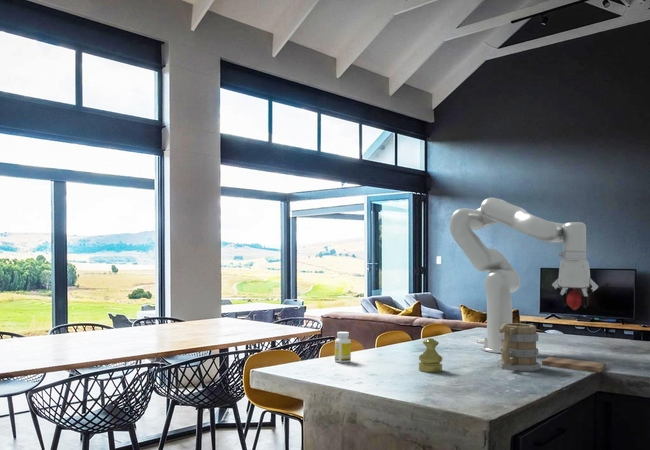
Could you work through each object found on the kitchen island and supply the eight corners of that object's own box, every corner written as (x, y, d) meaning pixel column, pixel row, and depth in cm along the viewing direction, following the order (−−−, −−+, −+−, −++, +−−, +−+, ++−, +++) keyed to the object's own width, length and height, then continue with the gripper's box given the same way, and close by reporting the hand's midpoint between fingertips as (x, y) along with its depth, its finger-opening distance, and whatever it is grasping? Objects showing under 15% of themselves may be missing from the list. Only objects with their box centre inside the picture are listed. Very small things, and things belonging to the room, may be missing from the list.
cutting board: (541, 365, 188) (541, 360, 188) (549, 361, 196) (549, 356, 196) (600, 372, 177) (600, 367, 177) (605, 367, 185) (605, 363, 185)
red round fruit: (585, 311, 195) (585, 288, 196) (567, 310, 196) (568, 287, 197) (581, 309, 201) (581, 287, 201) (564, 309, 202) (564, 287, 202)
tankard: (509, 362, 192) (509, 318, 193) (545, 367, 183) (545, 322, 184) (480, 369, 178) (480, 322, 179) (517, 376, 169) (517, 326, 170)
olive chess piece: (428, 373, 170) (428, 340, 171) (413, 369, 177) (414, 337, 177) (447, 371, 173) (447, 339, 174) (432, 367, 180) (432, 336, 181)
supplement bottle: (352, 361, 188) (353, 332, 189) (346, 363, 183) (347, 333, 184) (338, 359, 191) (338, 330, 191) (331, 362, 186) (332, 332, 186)
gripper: (546, 255, 202) (546, 305, 201) (598, 256, 192) (598, 309, 191) (552, 256, 208) (552, 304, 207) (602, 257, 198) (603, 308, 197)
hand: (574, 306), depth 199 cm, fingers closed on red round fruit, 5 cm apart
